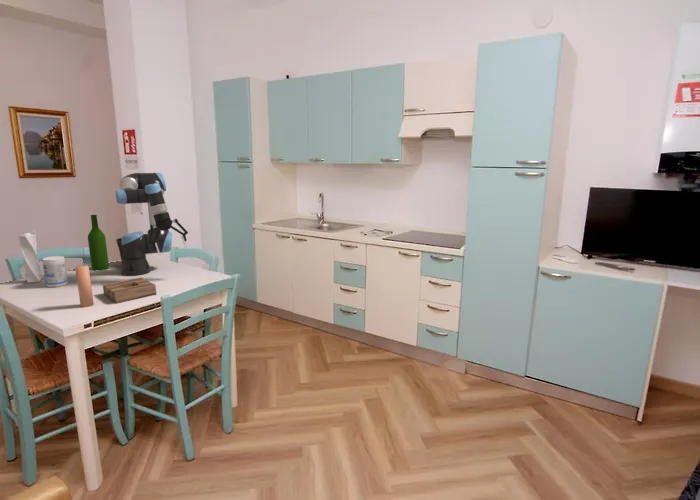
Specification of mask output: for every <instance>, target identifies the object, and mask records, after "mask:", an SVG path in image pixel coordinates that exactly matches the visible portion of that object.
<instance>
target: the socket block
mask: <svg viewBox="0 0 700 500" xmlns="http://www.w3.org/2000/svg"><path fill="white" fill-rule="evenodd" d="M102 290H103V291H102V292H103V295H104V296H105V297H106V298H108V299H110V301H112V302H113V303H115V304H121V303H125V302H130V301H133V300H134V301H135V300H138V299H143V298H147V297H152V296H155V295H157V287H156V284H155V283H153V282H150V281H149V280H147V279H146V278H143V277H137V278H131V279H127V280H122V281H116V282H110V283H106V284H102Z"/></svg>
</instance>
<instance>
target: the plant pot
mask: <svg viewBox="0 0 700 500" xmlns="http://www.w3.org/2000/svg"><path fill="white" fill-rule="evenodd" d="M121 238H122V237H120V238H116V239H115V242H116V244H117V247H118V250H119V255H120V261H121V264H122V266H123V262H124V259H123V250H122V245H121V243H122V241H121Z"/></svg>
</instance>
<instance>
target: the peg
mask: <svg viewBox="0 0 700 500" xmlns="http://www.w3.org/2000/svg"><path fill="white" fill-rule="evenodd" d="M74 270H75V275H76V276H75V277H76V283H77V288H78V289H77V290H78V296H79V302H80V303H79V304H80V307H81V308H88V307H89V306H90V307H92V306H94V303H95V302H94V298H93V288H92V282H91V275H90V274H91V273H90V267H89V265H79V266H75V267H74Z"/></svg>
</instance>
